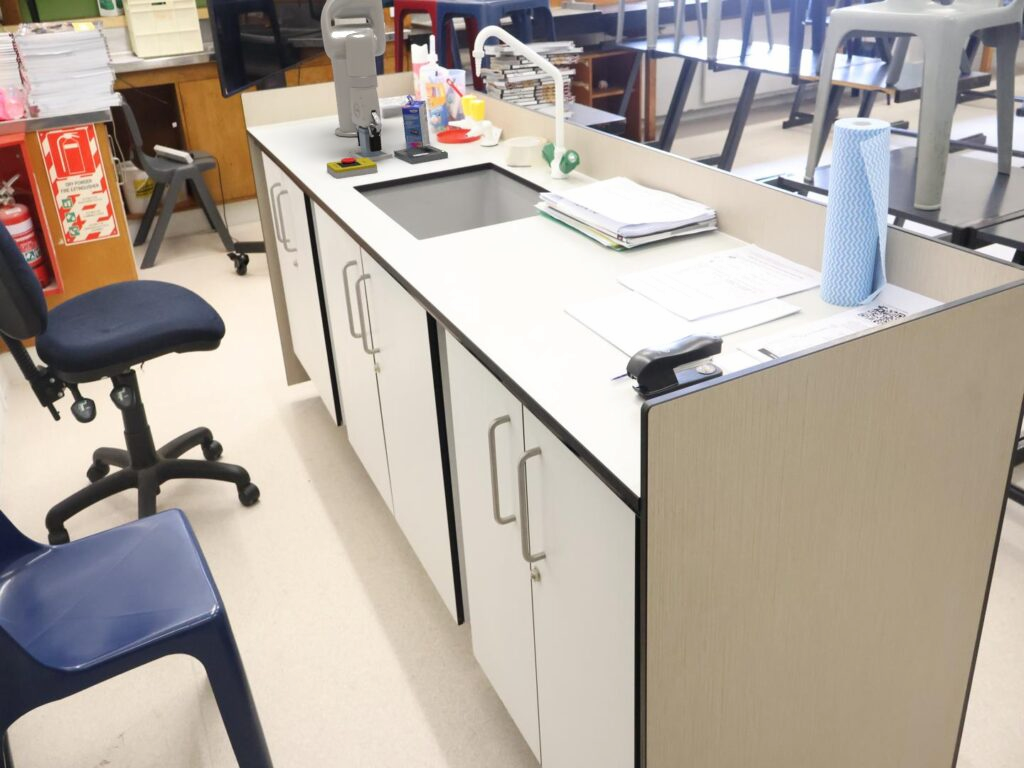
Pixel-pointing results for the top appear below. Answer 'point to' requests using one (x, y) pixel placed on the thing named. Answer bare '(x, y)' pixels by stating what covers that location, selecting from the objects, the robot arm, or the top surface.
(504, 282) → the top surface
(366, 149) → the plug
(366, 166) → the emergency button
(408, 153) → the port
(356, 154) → the grey square tray
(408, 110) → the ink cartridge box
